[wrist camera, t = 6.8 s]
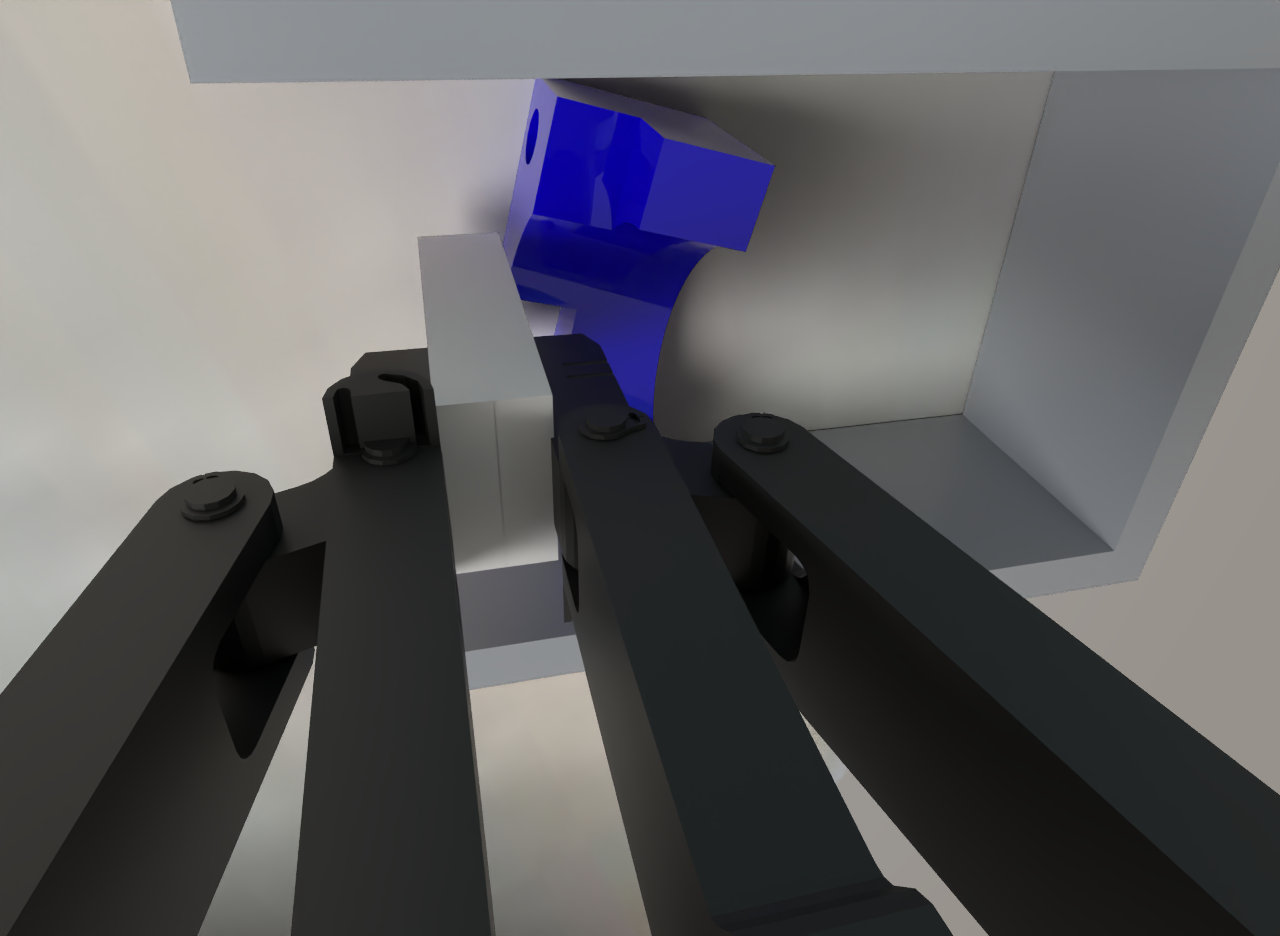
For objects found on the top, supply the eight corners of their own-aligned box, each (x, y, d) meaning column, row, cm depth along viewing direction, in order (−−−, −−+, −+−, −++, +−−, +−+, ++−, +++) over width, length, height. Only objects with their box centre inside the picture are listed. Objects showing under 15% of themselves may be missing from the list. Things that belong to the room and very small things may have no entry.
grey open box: (985, 441, 24) (1137, 579, 19) (354, 516, 20) (344, 710, 15) (1124, -33, 18) (1404, -7, 13) (242, -48, 14) (166, -19, 9)
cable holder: (535, 71, 16) (573, 114, 13) (702, 115, 17) (774, 165, 14) (464, 431, 20) (481, 533, 17) (605, 446, 21) (645, 545, 18)
